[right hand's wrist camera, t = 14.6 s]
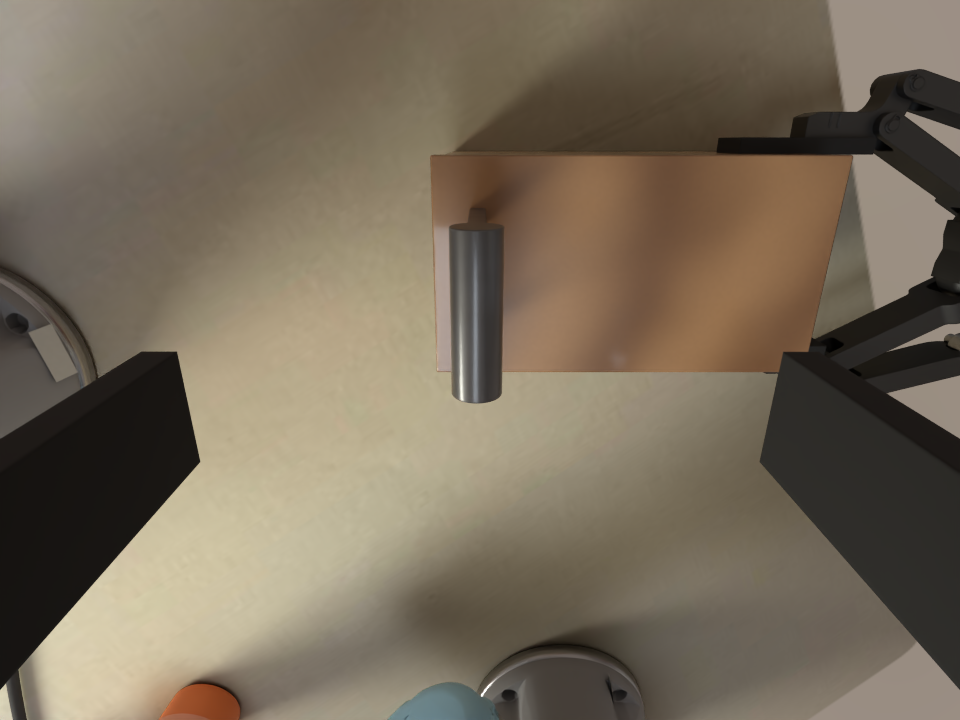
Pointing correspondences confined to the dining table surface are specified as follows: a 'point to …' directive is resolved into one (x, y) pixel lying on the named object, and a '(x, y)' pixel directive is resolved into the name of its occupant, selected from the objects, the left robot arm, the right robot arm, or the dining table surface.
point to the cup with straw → (202, 704)
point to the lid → (627, 262)
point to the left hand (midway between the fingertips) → (712, 251)
